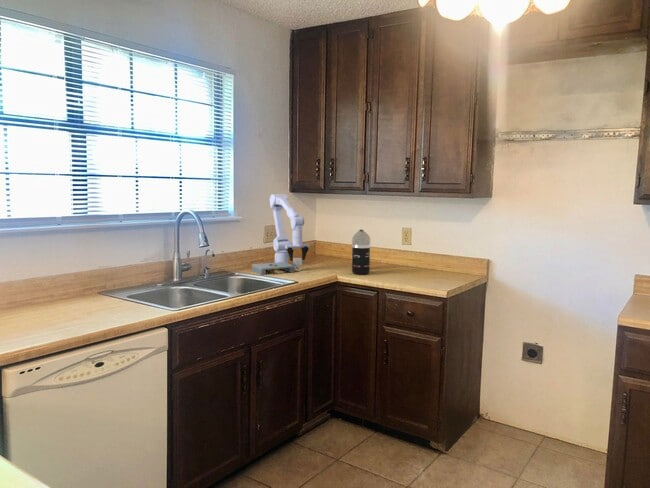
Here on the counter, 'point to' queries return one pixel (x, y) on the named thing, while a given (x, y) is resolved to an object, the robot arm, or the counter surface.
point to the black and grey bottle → (361, 253)
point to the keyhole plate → (280, 265)
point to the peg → (297, 263)
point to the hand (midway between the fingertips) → (297, 260)
